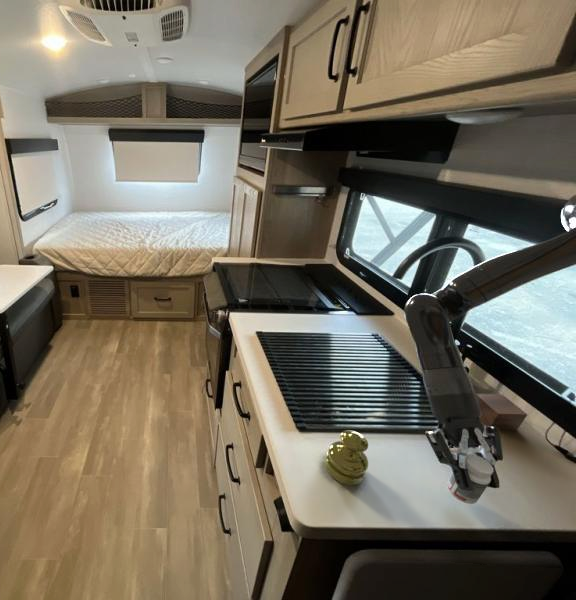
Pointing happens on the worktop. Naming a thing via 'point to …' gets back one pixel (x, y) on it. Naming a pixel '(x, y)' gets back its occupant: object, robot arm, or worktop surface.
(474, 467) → the pill bottle
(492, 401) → the walnut block
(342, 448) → the gold metal rounded figure
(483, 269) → the robot arm
